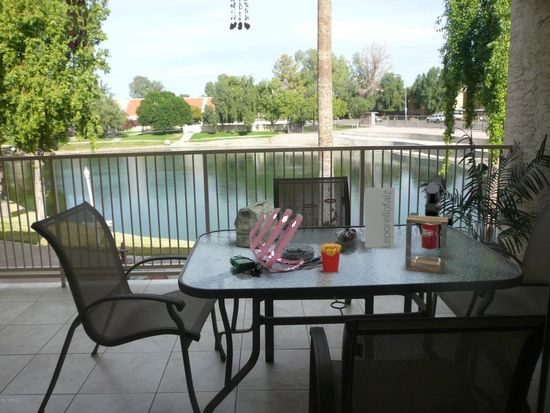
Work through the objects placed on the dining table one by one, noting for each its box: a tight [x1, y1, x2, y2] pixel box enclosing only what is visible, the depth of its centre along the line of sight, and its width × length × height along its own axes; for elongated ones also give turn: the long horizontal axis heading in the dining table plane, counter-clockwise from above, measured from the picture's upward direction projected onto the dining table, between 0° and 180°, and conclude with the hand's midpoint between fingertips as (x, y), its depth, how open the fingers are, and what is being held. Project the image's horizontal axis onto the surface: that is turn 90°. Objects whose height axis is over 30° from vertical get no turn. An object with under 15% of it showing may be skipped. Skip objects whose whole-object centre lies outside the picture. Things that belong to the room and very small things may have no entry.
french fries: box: [320, 243, 342, 274], centre depth 195 cm, size 8×4×12 cm, turn 85°
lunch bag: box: [233, 199, 280, 249], centre depth 245 cm, size 26×18×22 cm
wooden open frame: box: [404, 214, 448, 275], centre depth 196 cm, size 16×16×22 cm
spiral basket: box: [249, 207, 305, 273], centre depth 201 cm, size 28×28×27 cm
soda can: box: [420, 223, 439, 251], centre depth 205 cm, size 7×7×12 cm
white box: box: [364, 187, 396, 249], centre depth 229 cm, size 14×6×30 cm, turn 76°
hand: (429, 234), depth 204 cm, fingers closed on soda can, 7 cm apart
